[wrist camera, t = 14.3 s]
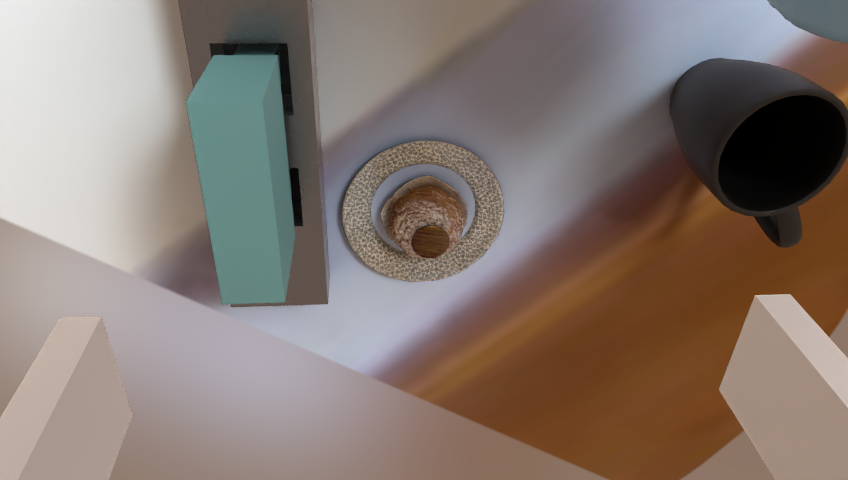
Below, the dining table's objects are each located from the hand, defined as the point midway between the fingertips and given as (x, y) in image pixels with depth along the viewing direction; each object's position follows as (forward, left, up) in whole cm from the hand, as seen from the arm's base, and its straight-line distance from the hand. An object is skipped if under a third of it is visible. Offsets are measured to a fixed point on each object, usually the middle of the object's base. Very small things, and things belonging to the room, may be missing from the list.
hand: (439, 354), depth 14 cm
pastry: (+15, +3, -32) cm, 36 cm away
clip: (+8, -8, -32) cm, 34 cm away
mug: (+8, +23, -32) cm, 40 cm away
